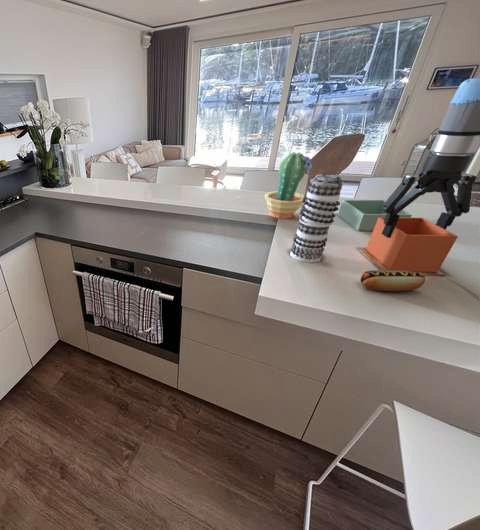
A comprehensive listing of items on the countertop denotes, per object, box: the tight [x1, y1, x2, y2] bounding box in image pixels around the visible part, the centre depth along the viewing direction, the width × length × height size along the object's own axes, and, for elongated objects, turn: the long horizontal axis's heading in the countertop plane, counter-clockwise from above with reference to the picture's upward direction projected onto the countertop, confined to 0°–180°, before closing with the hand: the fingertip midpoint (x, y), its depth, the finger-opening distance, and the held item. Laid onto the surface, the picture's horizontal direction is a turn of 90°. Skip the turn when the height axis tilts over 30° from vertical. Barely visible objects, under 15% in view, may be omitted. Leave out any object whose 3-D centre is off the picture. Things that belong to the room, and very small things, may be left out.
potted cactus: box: [264, 151, 313, 220], centre depth 115 cm, size 15×15×25 cm
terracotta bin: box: [365, 217, 459, 273], centre depth 81 cm, size 11×13×11 cm
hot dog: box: [359, 269, 426, 292], centre depth 72 cm, size 5×13×5 cm, turn 82°
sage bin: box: [337, 199, 413, 232], centre depth 106 cm, size 14×16×7 cm
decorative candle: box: [289, 173, 346, 264], centre depth 85 cm, size 9×9×25 cm
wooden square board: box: [358, 248, 446, 277], centre depth 84 cm, size 14×14×1 cm
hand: (410, 236), depth 80 cm, fingers closed on terracotta bin, 11 cm apart
